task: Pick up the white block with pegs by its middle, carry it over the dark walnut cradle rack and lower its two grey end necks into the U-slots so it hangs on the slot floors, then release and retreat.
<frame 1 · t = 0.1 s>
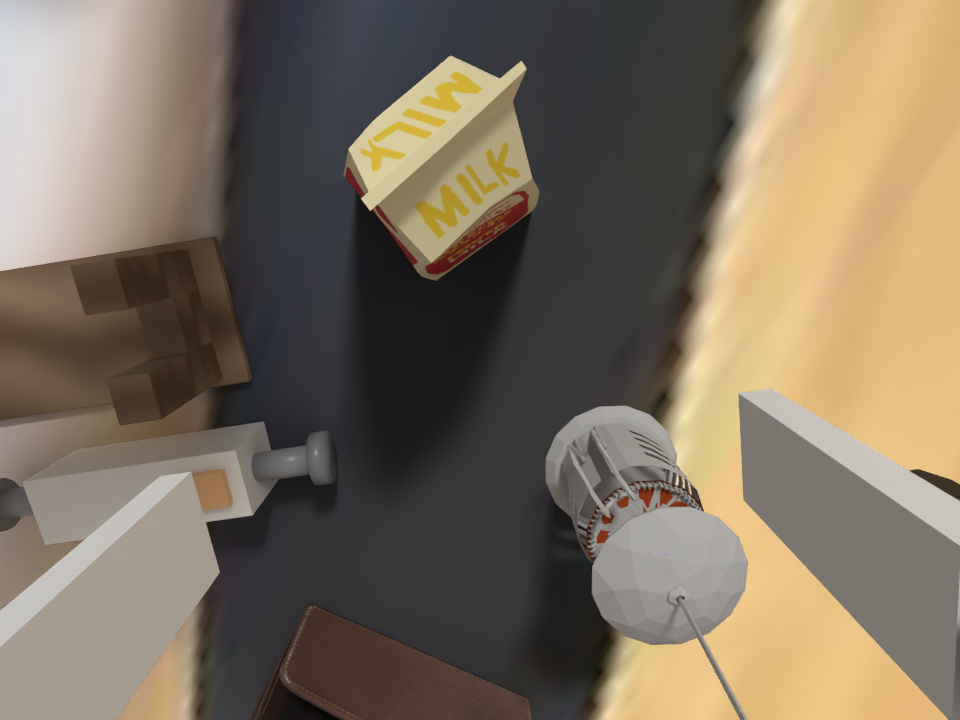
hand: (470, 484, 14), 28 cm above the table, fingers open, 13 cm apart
cradle rack: (65, 336, 42), on the table
white block with pegs: (178, 463, 44), on the table
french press: (603, 458, 45), on the table
milk carton: (450, 183, 40), on the table
letter holder: (396, 692, 50), on the table
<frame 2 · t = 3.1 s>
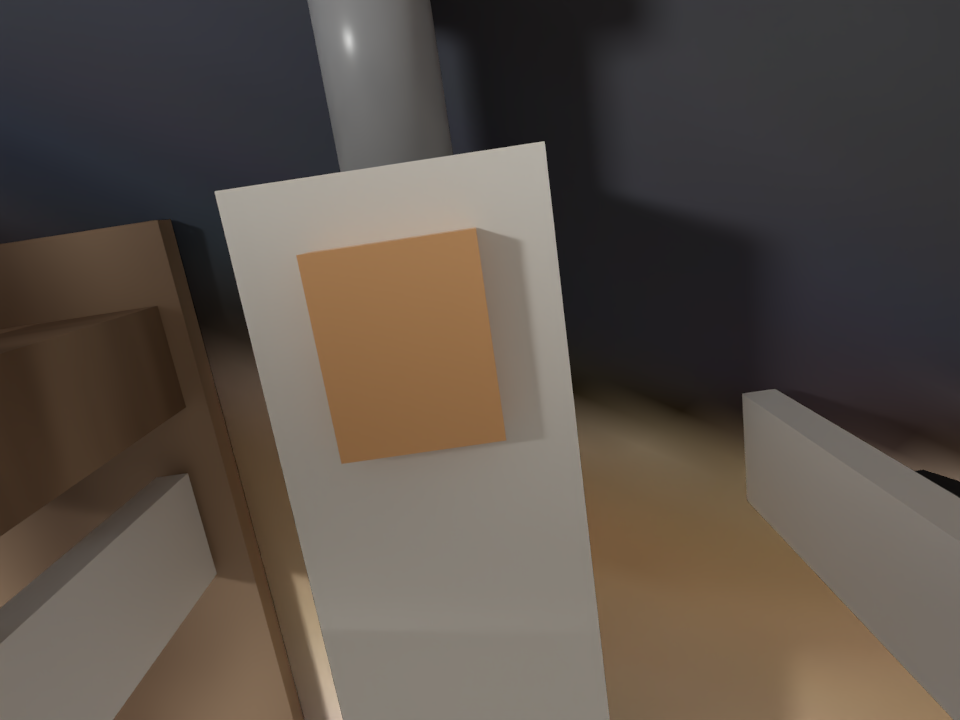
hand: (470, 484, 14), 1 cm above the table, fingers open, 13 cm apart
cradle rack: (110, 691, 17), on the table
white block with pegs: (461, 467, 15), on the table
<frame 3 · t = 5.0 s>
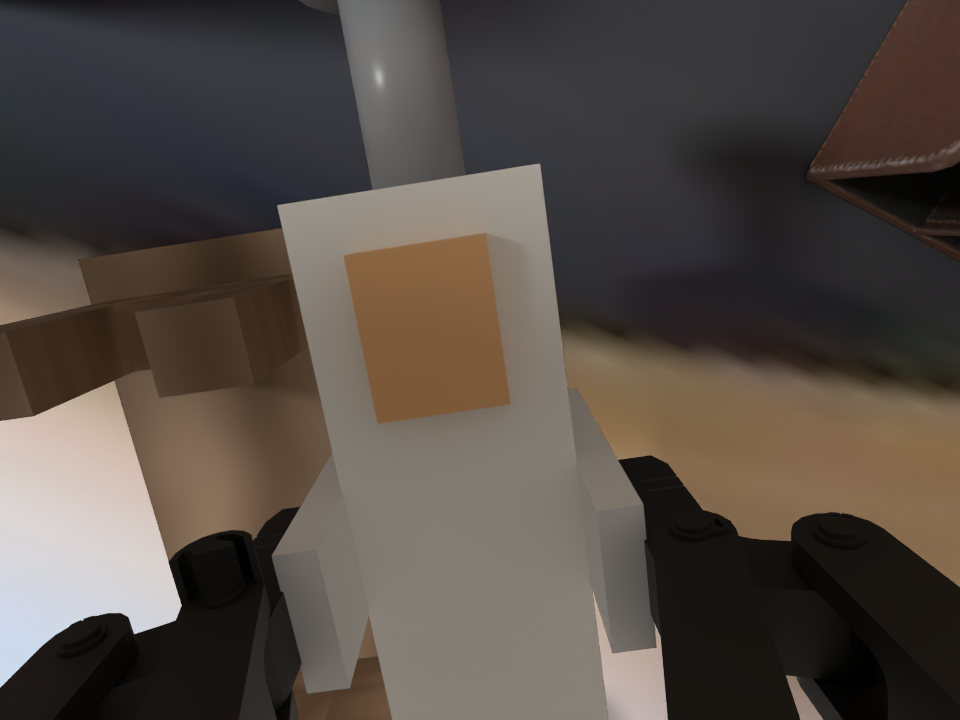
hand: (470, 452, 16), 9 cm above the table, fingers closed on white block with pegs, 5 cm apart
cradle rack: (273, 508, 27), on the table
white block with pegs: (472, 444, 17), point 8 cm above the table, touching gripper
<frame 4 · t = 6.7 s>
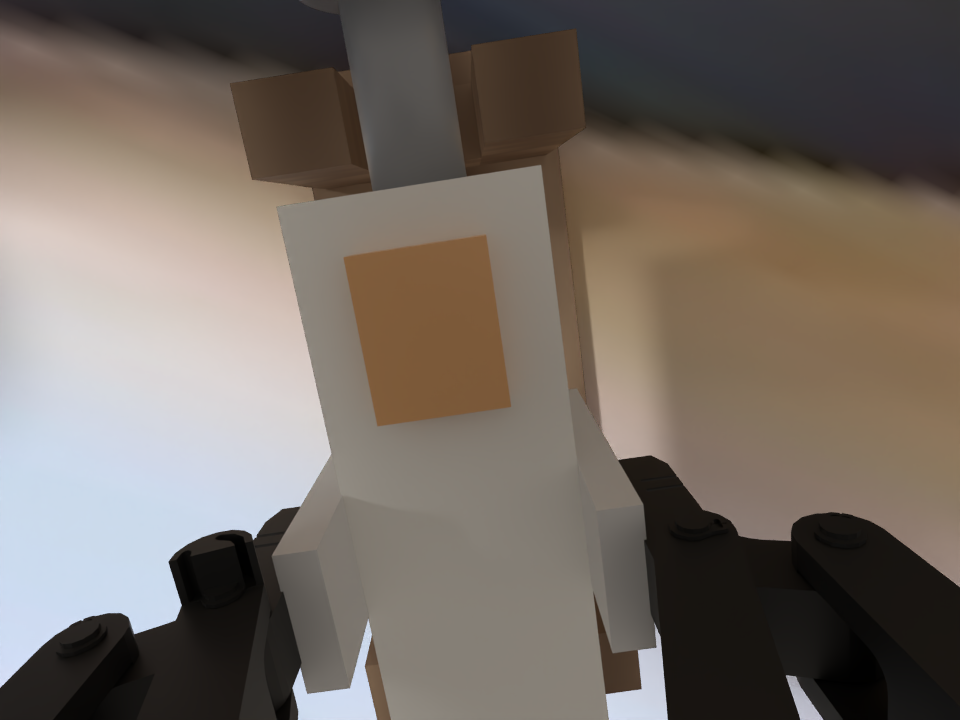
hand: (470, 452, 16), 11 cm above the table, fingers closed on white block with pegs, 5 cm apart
cradle rack: (465, 355, 27), on the table
white block with pegs: (472, 445, 17), point 10 cm above the table, touching gripper
when the fingers open (2 cm above the table, at t = 8.4 s): white block with pegs stays where it is, resting on cradle rack.
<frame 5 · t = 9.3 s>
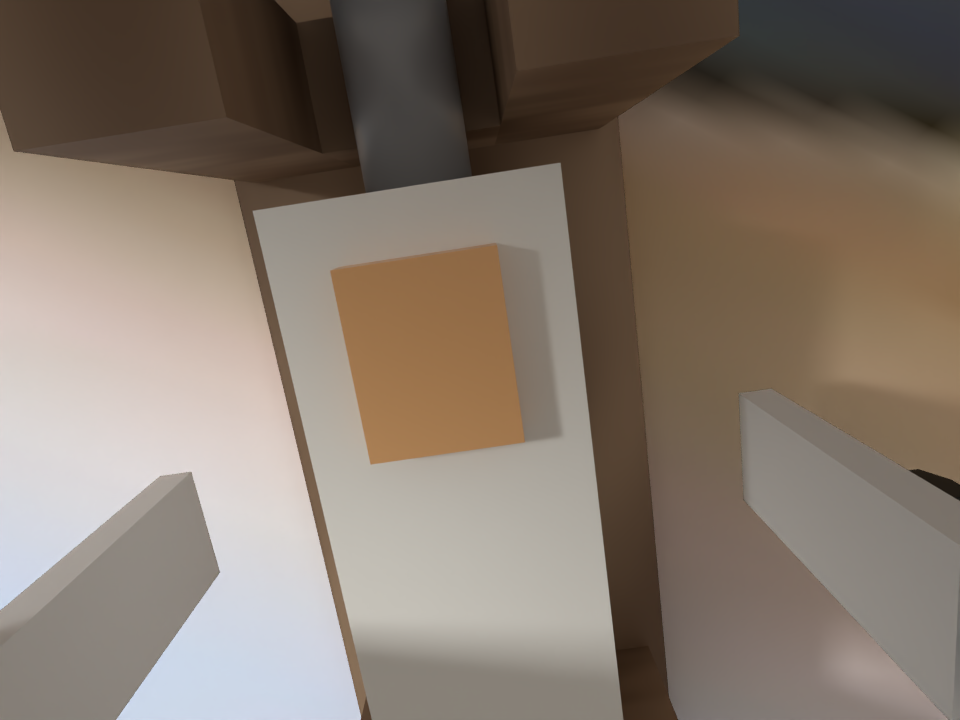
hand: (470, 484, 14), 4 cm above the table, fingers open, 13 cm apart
cradle rack: (471, 430, 18), on the table
white block with pegs: (476, 468, 16), point 2 cm above the table, touching cradle rack
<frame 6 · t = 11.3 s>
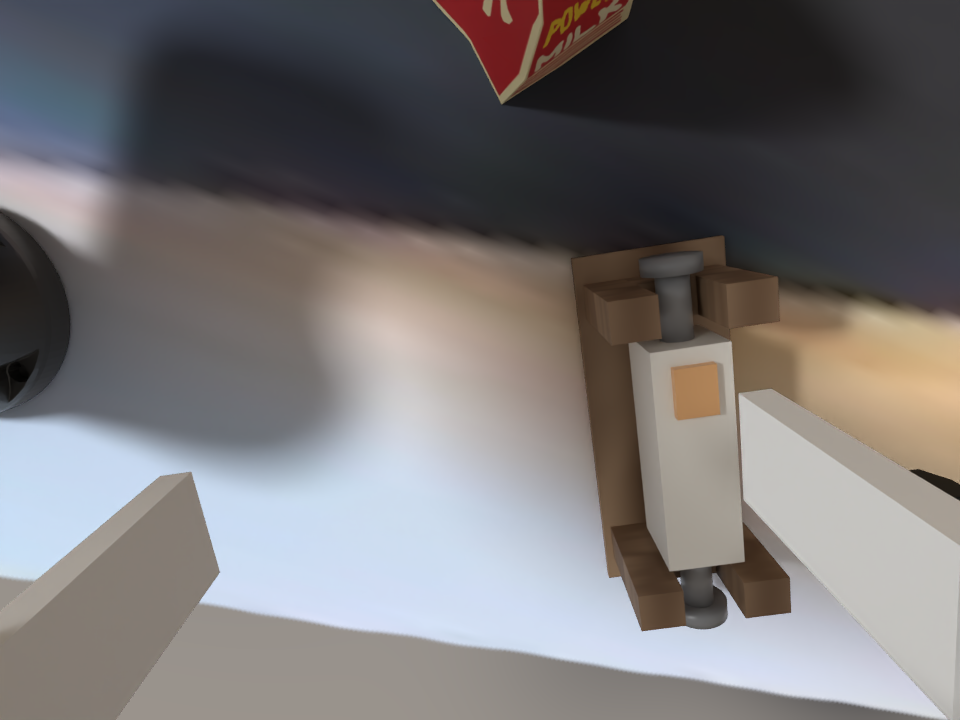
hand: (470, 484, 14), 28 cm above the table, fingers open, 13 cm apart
cradle rack: (660, 415, 43), on the table
white block with pegs: (671, 429, 41), point 2 cm above the table, touching cradle rack
milk carton: (523, 0, 37), on the table
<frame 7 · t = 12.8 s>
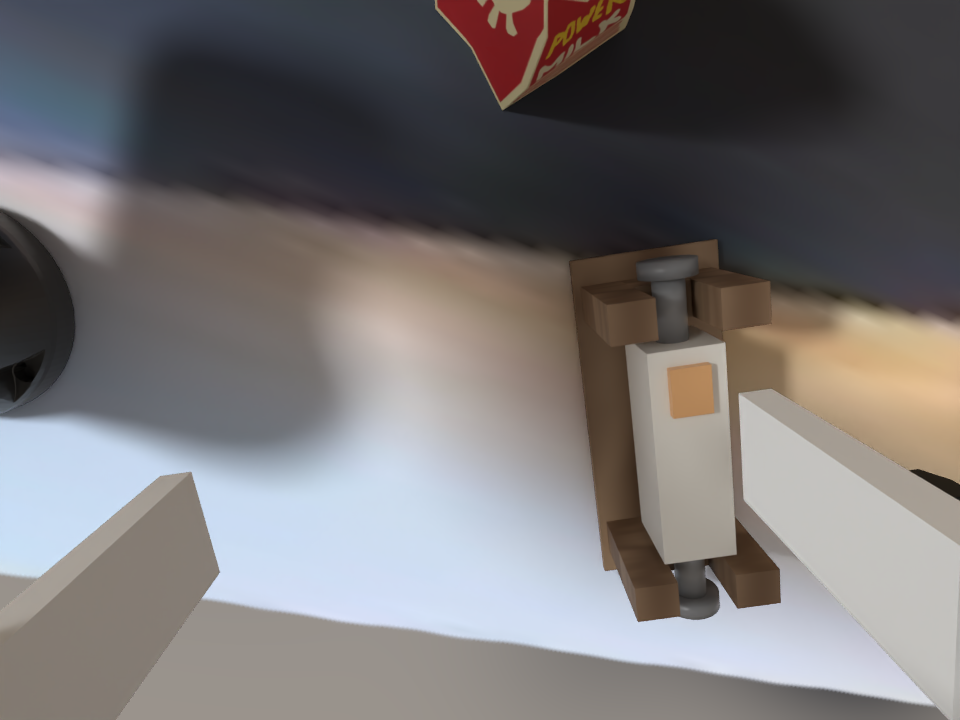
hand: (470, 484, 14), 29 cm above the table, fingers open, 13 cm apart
cradle rack: (654, 413, 44), on the table
white block with pegs: (665, 427, 42), point 2 cm above the table, touching cradle rack
milk carton: (524, 9, 38), on the table
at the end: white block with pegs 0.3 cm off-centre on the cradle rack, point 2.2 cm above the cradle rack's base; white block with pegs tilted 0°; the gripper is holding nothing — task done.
